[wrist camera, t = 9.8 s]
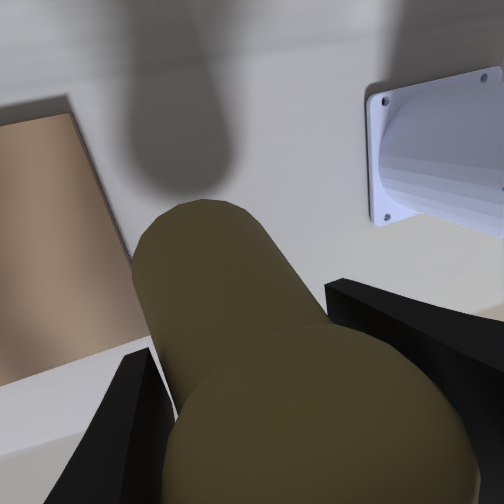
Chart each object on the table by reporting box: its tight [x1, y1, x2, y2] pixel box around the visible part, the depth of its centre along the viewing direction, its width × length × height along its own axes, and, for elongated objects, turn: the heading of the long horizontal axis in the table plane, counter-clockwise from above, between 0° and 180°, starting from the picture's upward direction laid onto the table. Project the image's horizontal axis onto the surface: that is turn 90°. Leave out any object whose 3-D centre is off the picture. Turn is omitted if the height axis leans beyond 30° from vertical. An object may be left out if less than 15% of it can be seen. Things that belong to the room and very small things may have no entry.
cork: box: [132, 199, 481, 504], centre depth 9 cm, size 6×6×11 cm
